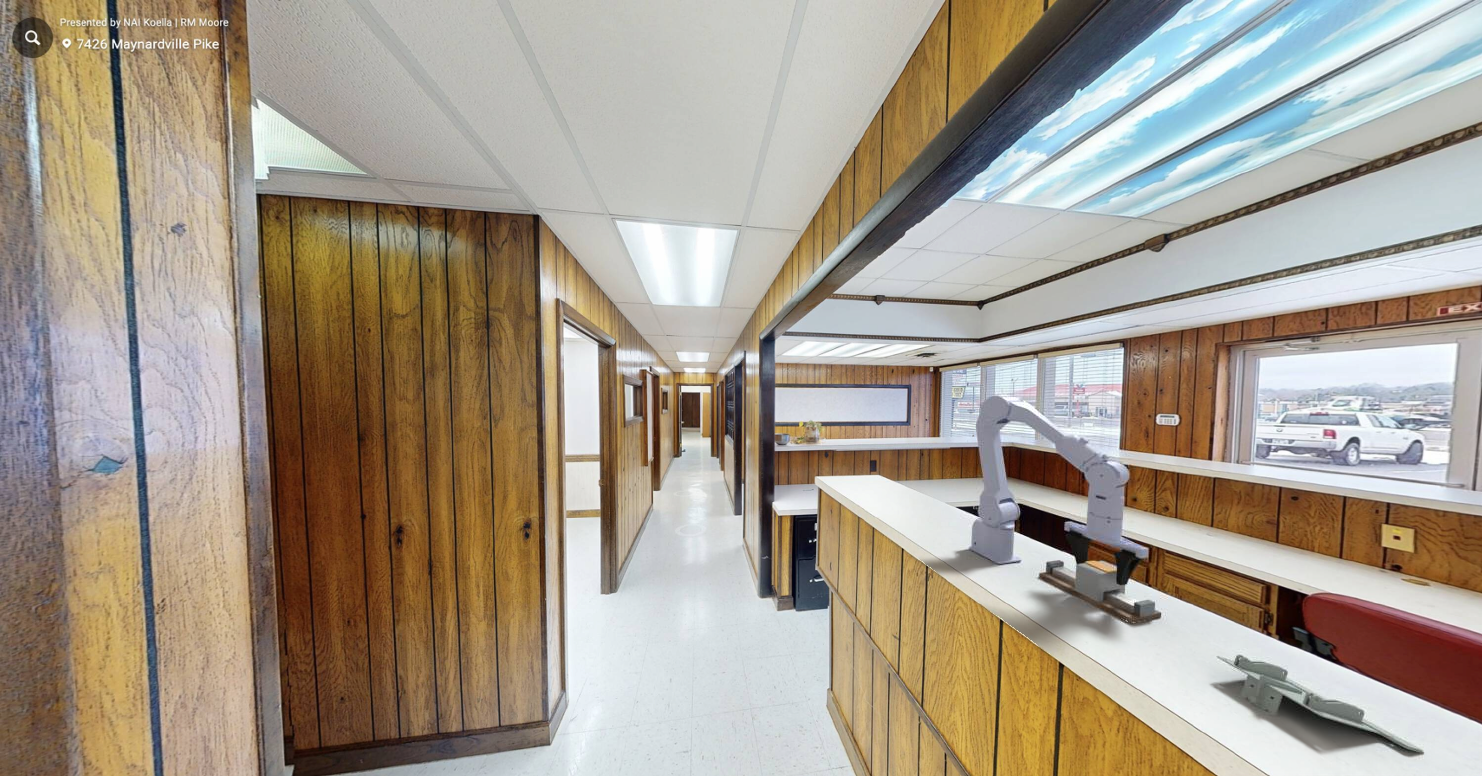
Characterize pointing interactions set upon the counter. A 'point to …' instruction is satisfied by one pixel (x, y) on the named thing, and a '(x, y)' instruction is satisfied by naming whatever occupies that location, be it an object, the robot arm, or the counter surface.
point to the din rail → (1112, 596)
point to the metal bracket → (1300, 697)
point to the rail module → (1096, 579)
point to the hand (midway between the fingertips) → (1100, 574)
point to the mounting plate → (1101, 604)
